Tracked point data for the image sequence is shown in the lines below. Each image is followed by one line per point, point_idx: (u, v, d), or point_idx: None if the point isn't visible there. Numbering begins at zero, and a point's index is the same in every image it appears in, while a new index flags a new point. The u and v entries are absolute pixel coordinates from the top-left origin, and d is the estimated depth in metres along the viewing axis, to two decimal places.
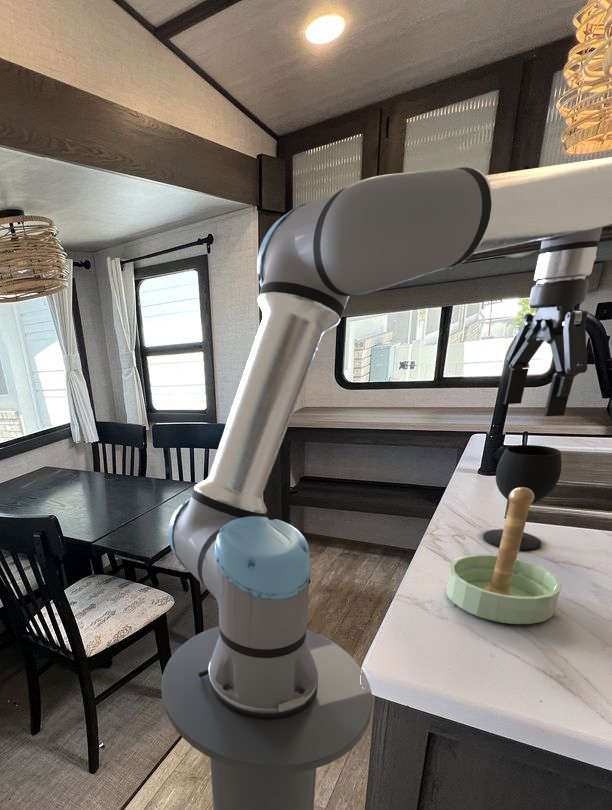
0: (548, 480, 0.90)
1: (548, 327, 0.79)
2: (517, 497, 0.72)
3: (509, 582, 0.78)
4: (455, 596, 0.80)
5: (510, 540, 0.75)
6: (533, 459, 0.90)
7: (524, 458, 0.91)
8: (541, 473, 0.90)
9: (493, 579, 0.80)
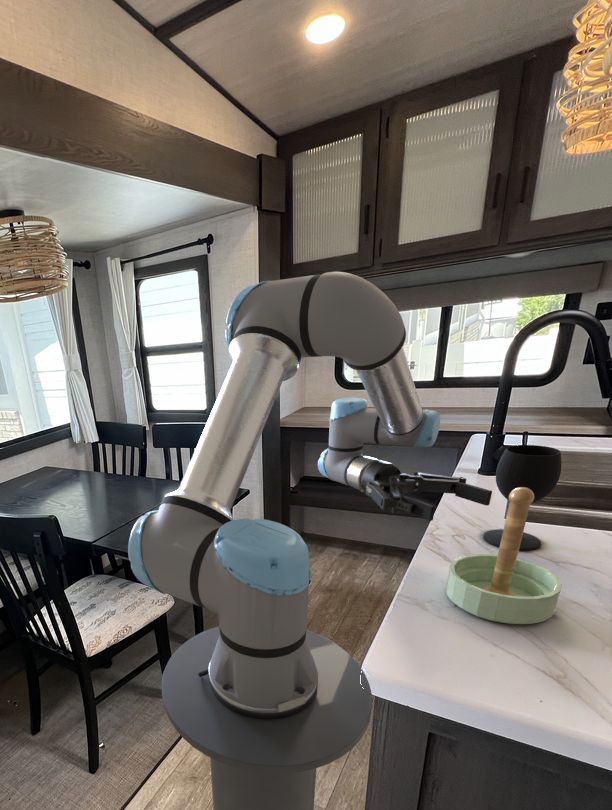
0: (548, 480, 0.90)
1: (410, 475, 0.96)
2: (517, 497, 0.72)
3: (509, 582, 0.78)
4: (455, 596, 0.80)
5: (510, 540, 0.75)
6: (533, 459, 0.90)
7: (524, 458, 0.91)
8: (541, 473, 0.90)
9: (493, 579, 0.80)
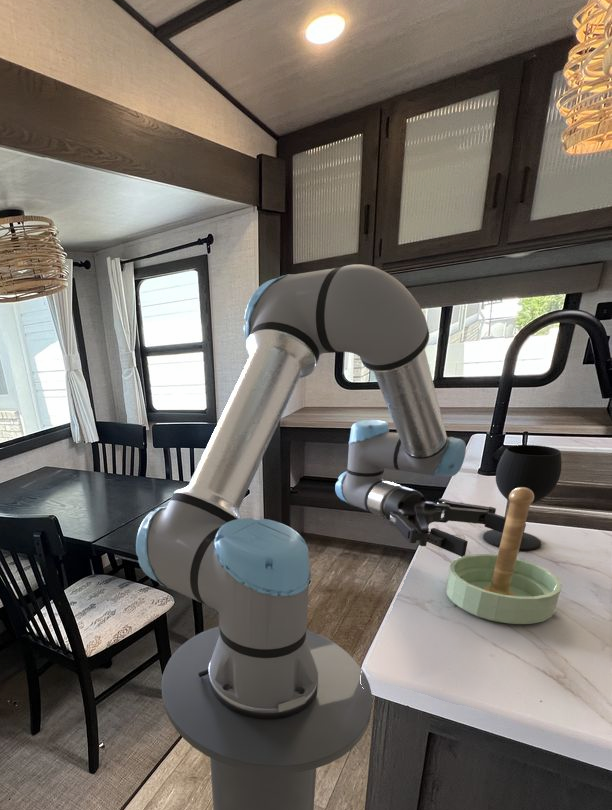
0: (548, 480, 0.90)
1: (436, 503, 0.91)
2: (517, 497, 0.72)
3: (509, 582, 0.78)
4: (455, 596, 0.80)
5: (510, 540, 0.75)
6: (533, 459, 0.90)
7: (524, 458, 0.91)
8: (541, 473, 0.90)
9: (493, 579, 0.80)
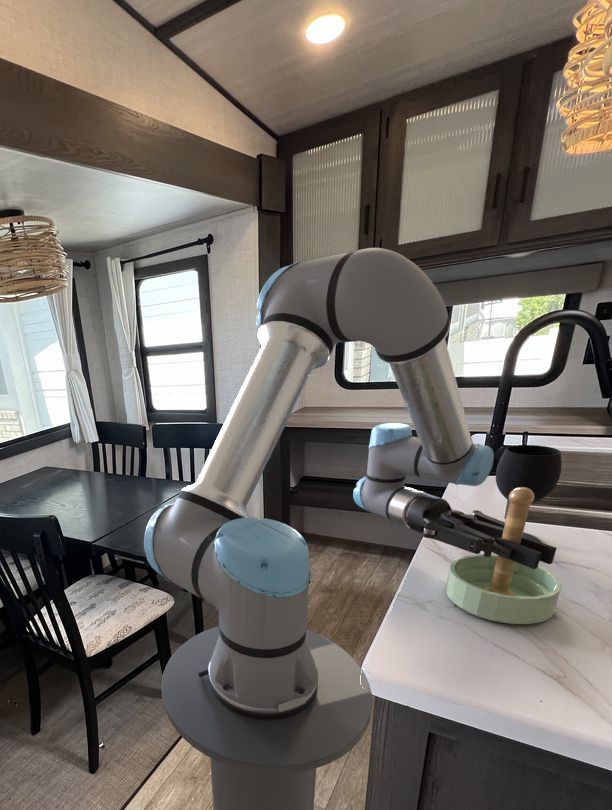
0: (548, 480, 0.90)
1: (464, 514, 0.86)
2: (517, 497, 0.72)
3: (509, 582, 0.78)
4: (455, 596, 0.80)
5: (510, 540, 0.75)
6: (533, 459, 0.90)
7: (524, 458, 0.91)
8: (541, 473, 0.90)
9: (493, 579, 0.80)
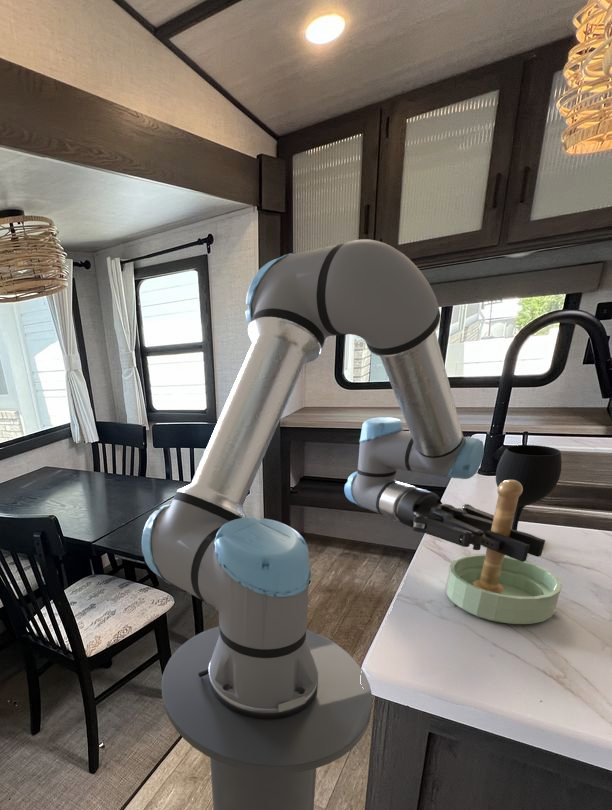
0: (548, 480, 0.90)
1: (454, 507, 0.85)
2: (506, 489, 0.72)
3: (498, 575, 0.78)
4: (455, 596, 0.80)
5: (499, 532, 0.75)
6: (533, 459, 0.90)
7: (524, 458, 0.91)
8: (541, 473, 0.90)
9: (482, 572, 0.79)
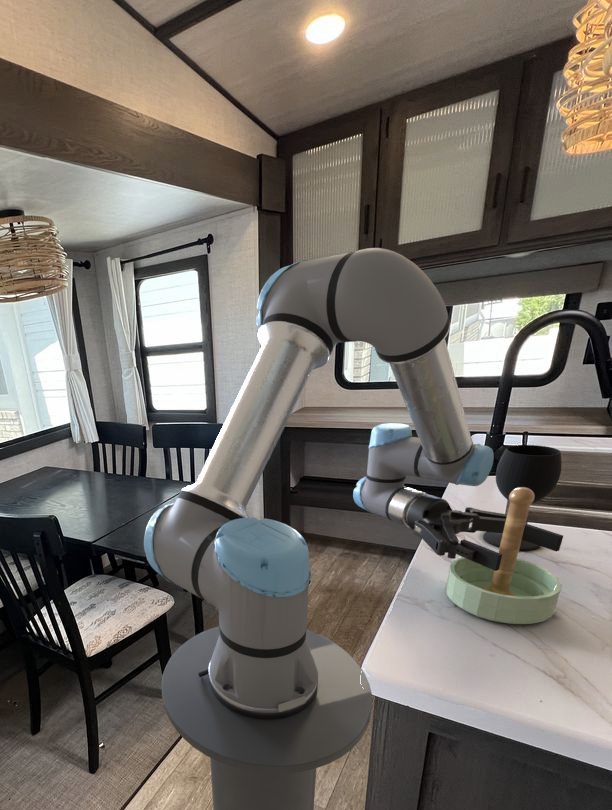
0: (548, 480, 0.90)
1: (464, 512, 0.86)
2: (517, 497, 0.73)
3: (509, 582, 0.78)
4: (455, 596, 0.80)
5: (510, 540, 0.75)
6: (533, 459, 0.90)
7: (524, 458, 0.91)
8: (541, 473, 0.90)
9: (493, 579, 0.80)
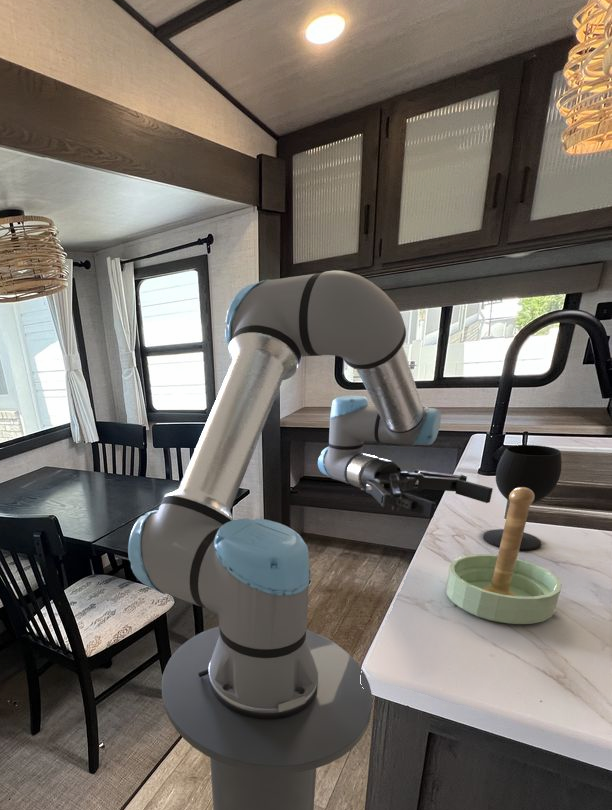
0: (548, 480, 0.90)
1: None
2: (517, 497, 0.73)
3: (509, 582, 0.78)
4: (455, 596, 0.80)
5: (510, 540, 0.75)
6: (533, 459, 0.90)
7: (524, 458, 0.91)
8: (541, 473, 0.90)
9: (493, 579, 0.80)
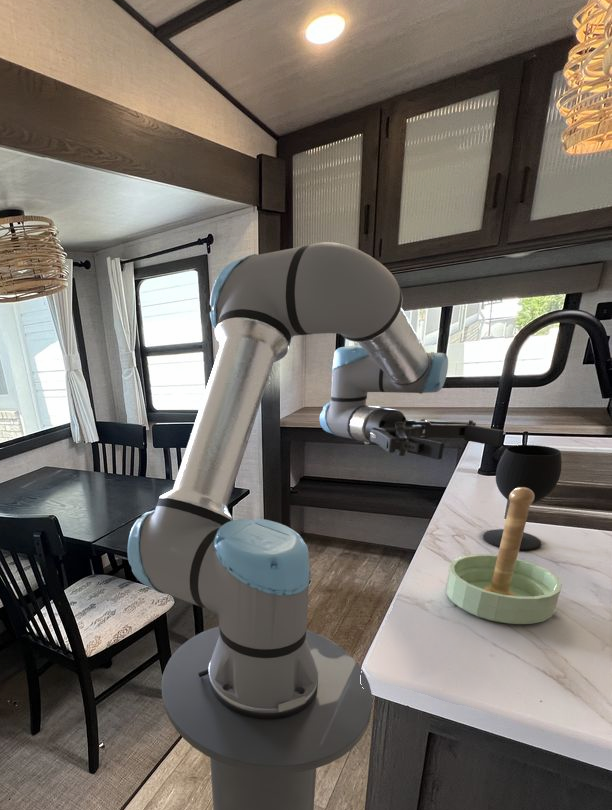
0: (548, 480, 0.90)
1: (417, 421, 0.92)
2: (517, 497, 0.73)
3: (509, 582, 0.78)
4: (455, 596, 0.80)
5: (510, 540, 0.75)
6: (533, 459, 0.90)
7: (524, 458, 0.91)
8: (541, 473, 0.90)
9: (493, 579, 0.80)
